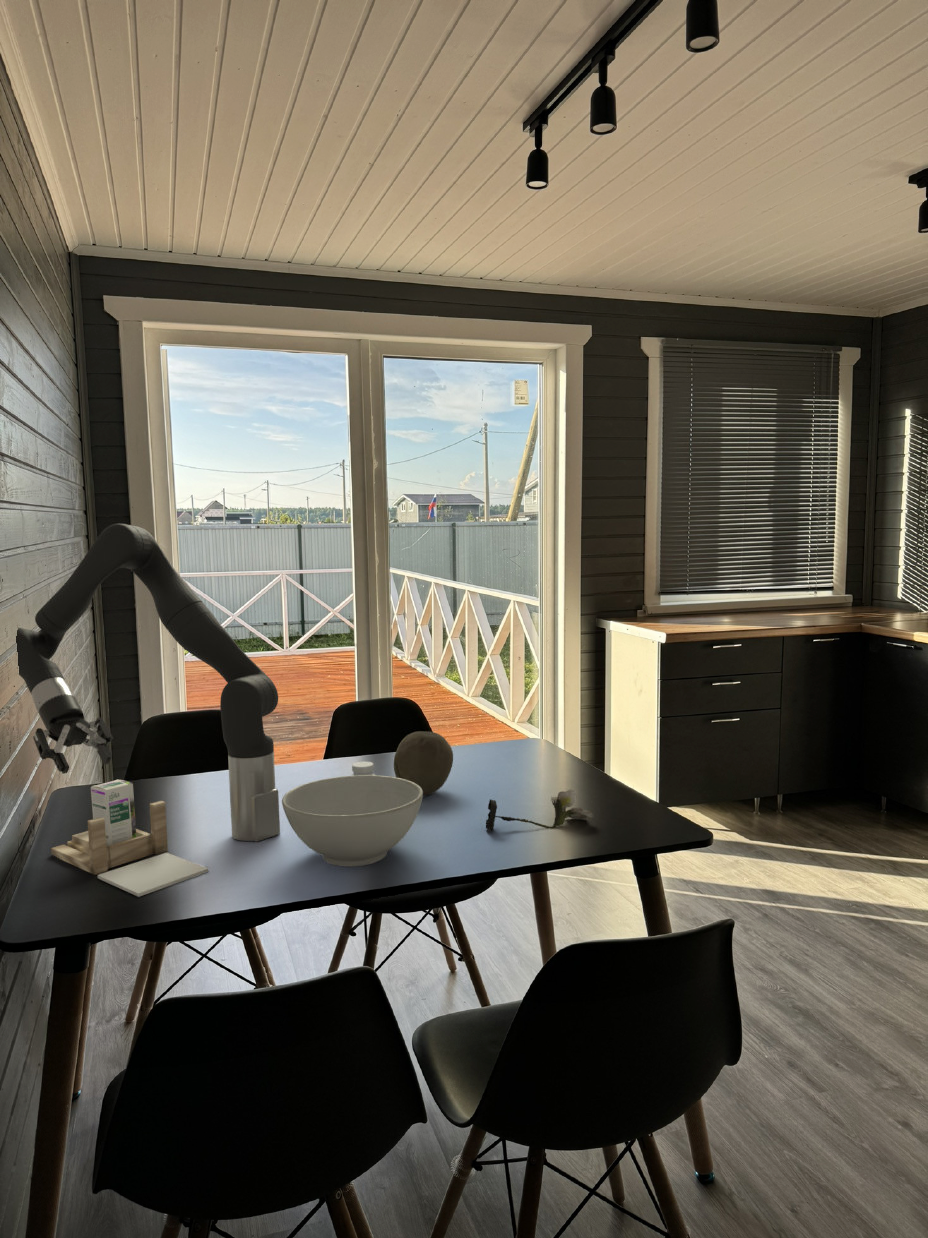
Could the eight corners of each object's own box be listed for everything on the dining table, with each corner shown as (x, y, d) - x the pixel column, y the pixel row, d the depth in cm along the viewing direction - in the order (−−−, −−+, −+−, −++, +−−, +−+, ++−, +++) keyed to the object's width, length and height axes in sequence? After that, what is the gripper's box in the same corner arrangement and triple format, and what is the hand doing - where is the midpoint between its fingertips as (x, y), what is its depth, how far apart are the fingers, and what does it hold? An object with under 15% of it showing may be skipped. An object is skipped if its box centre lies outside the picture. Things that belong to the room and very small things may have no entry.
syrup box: (111, 863, 163) (106, 789, 161) (94, 857, 166) (90, 784, 165) (138, 854, 167) (134, 782, 166) (121, 848, 171) (117, 778, 170)
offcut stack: (127, 845, 173) (126, 830, 172) (84, 858, 166) (83, 843, 166) (109, 838, 177) (108, 824, 177) (66, 851, 170) (65, 836, 170)
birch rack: (167, 851, 169) (165, 802, 168) (94, 875, 157) (91, 822, 156) (123, 834, 179) (120, 788, 179) (51, 855, 168) (48, 806, 167)
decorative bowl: (257, 857, 165) (254, 795, 164) (367, 823, 183) (365, 768, 182) (340, 895, 146) (337, 826, 144) (453, 853, 164) (451, 791, 163)
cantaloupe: (448, 803, 196) (446, 739, 194) (388, 802, 198) (386, 738, 197) (458, 786, 210) (456, 726, 208) (402, 785, 212) (400, 725, 211)
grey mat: (208, 871, 158) (208, 868, 157) (138, 897, 147) (138, 893, 147) (166, 855, 166) (166, 852, 166) (97, 878, 156) (97, 875, 155)
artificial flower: (482, 829, 182) (486, 782, 184) (586, 838, 183) (589, 791, 185) (486, 832, 173) (489, 782, 175) (595, 841, 174) (597, 791, 176)
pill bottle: (343, 818, 187) (341, 766, 186) (360, 809, 193) (358, 759, 192) (368, 822, 184) (366, 769, 183) (384, 813, 190) (383, 762, 189)
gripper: (26, 698, 170) (57, 763, 164) (95, 688, 181) (126, 748, 175) (16, 721, 174) (46, 785, 168) (84, 710, 185) (115, 769, 179)
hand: (87, 766), depth 171 cm, fingers open, 8 cm apart
